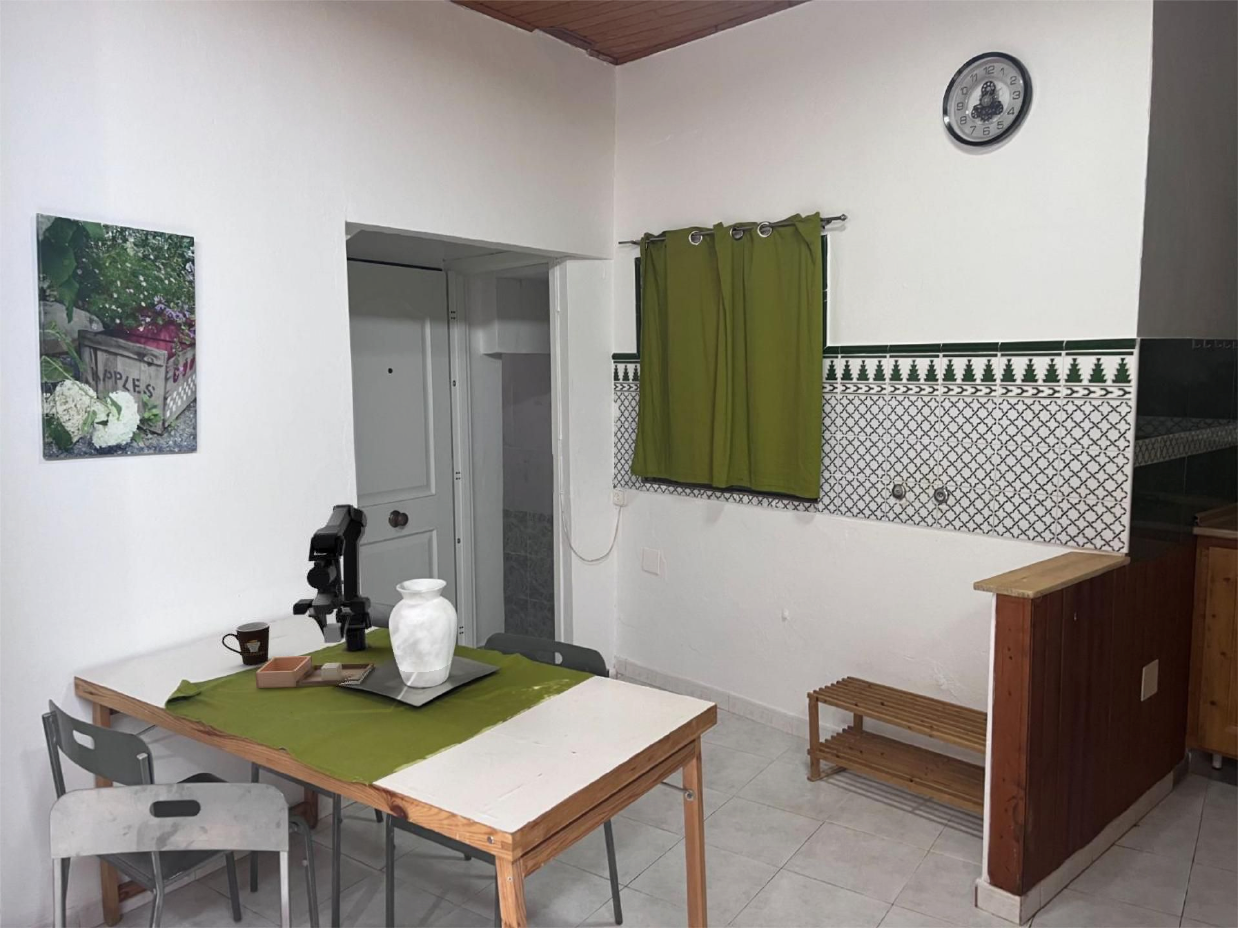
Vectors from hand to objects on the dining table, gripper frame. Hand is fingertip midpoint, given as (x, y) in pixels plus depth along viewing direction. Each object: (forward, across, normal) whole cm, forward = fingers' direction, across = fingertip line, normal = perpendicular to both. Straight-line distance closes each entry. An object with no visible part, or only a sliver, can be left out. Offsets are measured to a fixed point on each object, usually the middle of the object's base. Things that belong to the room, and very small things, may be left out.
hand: (334, 637), depth 234 cm
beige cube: (+9, +1, -6) cm, 11 cm away
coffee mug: (+10, -28, +13) cm, 33 cm away
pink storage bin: (+10, -12, -3) cm, 16 cm away
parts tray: (+10, +1, -3) cm, 10 cm away
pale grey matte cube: (+1, 0, 0) cm, 1 cm away
